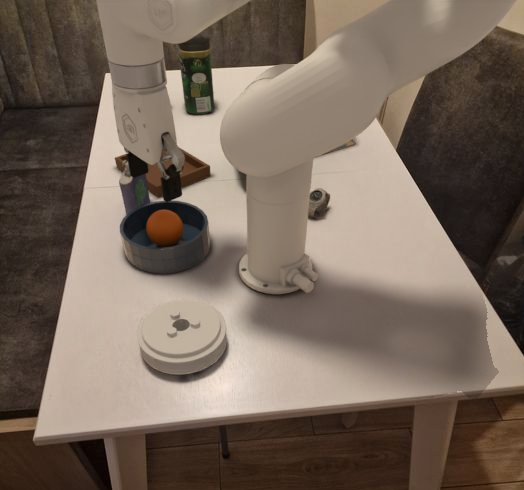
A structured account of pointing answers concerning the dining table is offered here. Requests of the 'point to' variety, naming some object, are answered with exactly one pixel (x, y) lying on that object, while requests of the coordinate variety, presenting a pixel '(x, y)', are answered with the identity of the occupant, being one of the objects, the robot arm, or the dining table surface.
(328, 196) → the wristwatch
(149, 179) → the tray
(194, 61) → the coffee jar
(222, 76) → the dining table surface
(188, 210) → the bowl
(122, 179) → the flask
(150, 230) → the mandarin
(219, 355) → the lid
